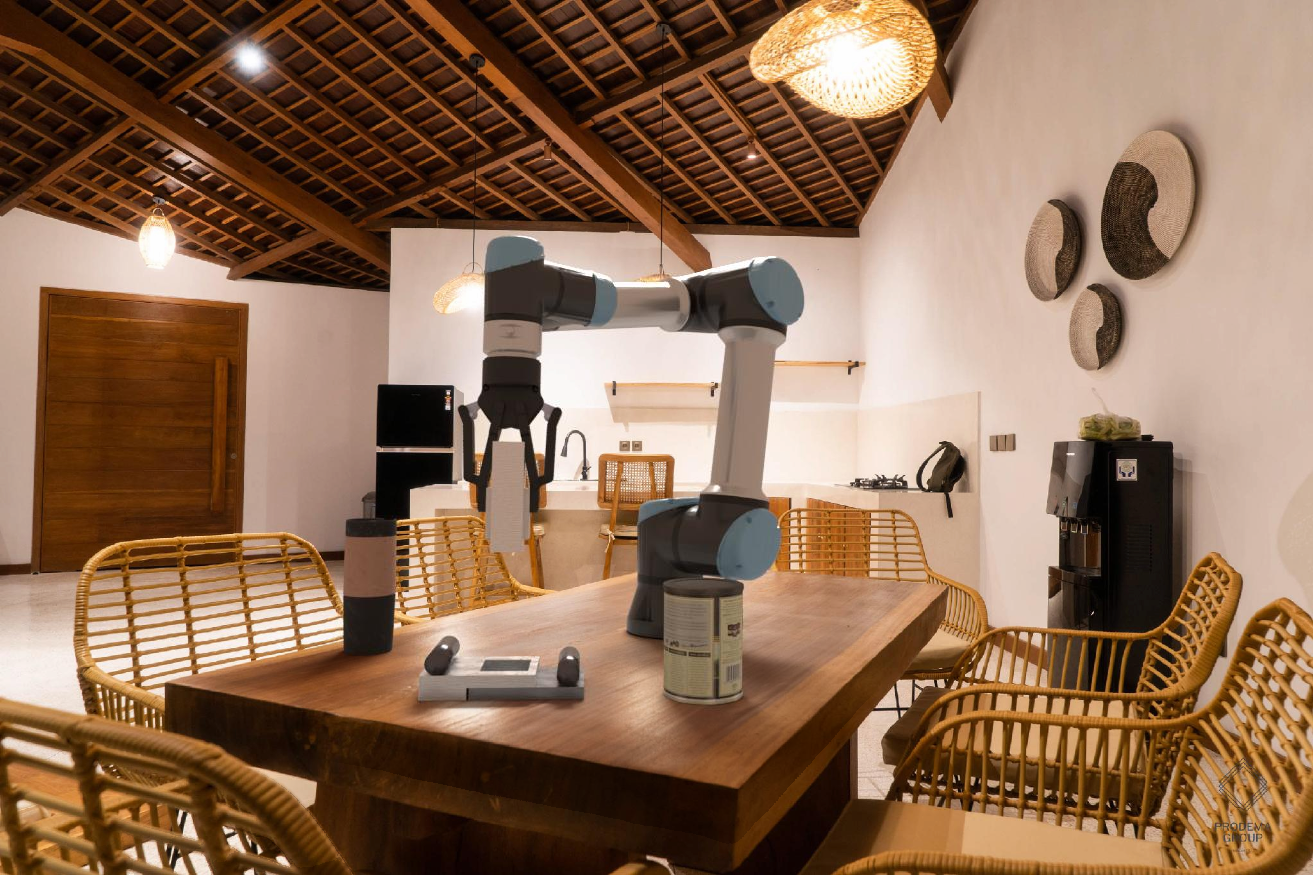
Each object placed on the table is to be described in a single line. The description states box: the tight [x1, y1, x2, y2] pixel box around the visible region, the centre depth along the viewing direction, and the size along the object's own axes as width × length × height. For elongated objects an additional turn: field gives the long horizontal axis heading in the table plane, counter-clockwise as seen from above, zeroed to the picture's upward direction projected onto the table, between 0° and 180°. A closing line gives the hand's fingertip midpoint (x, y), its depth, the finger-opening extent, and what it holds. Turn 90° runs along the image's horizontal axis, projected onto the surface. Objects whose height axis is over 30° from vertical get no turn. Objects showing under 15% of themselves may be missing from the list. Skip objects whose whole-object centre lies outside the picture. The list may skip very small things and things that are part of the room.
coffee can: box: [662, 577, 745, 706], centre depth 105 cm, size 10×10×14 cm
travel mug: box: [342, 517, 398, 656], centre depth 127 cm, size 8×8×20 cm
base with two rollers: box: [417, 635, 585, 702], centre depth 106 cm, size 20×10×6 cm, turn 95°
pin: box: [489, 440, 527, 553], centre depth 107 cm, size 4×4×14 cm
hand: (507, 537), depth 106 cm, fingers closed on pin, 4 cm apart
